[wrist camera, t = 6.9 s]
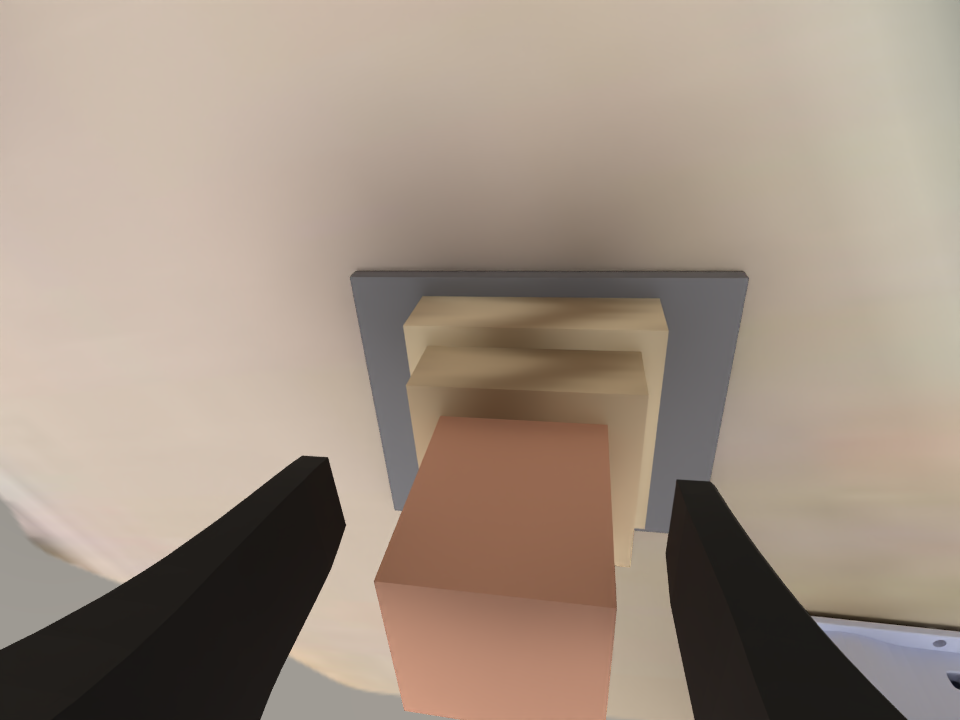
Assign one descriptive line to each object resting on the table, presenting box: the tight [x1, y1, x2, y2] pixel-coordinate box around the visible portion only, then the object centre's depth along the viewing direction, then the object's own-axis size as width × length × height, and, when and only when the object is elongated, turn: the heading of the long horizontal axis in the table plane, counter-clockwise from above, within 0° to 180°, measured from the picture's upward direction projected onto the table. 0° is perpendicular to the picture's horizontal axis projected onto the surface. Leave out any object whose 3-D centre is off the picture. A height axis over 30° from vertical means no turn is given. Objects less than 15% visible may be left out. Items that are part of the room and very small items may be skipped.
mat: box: [350, 271, 749, 533], centre depth 22 cm, size 14×12×1 cm
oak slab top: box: [406, 346, 649, 567], centre depth 18 cm, size 7×7×2 cm
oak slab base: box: [403, 296, 669, 529], centre depth 21 cm, size 8×8×2 cm
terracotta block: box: [374, 416, 617, 720], centre depth 15 cm, size 5×5×6 cm
